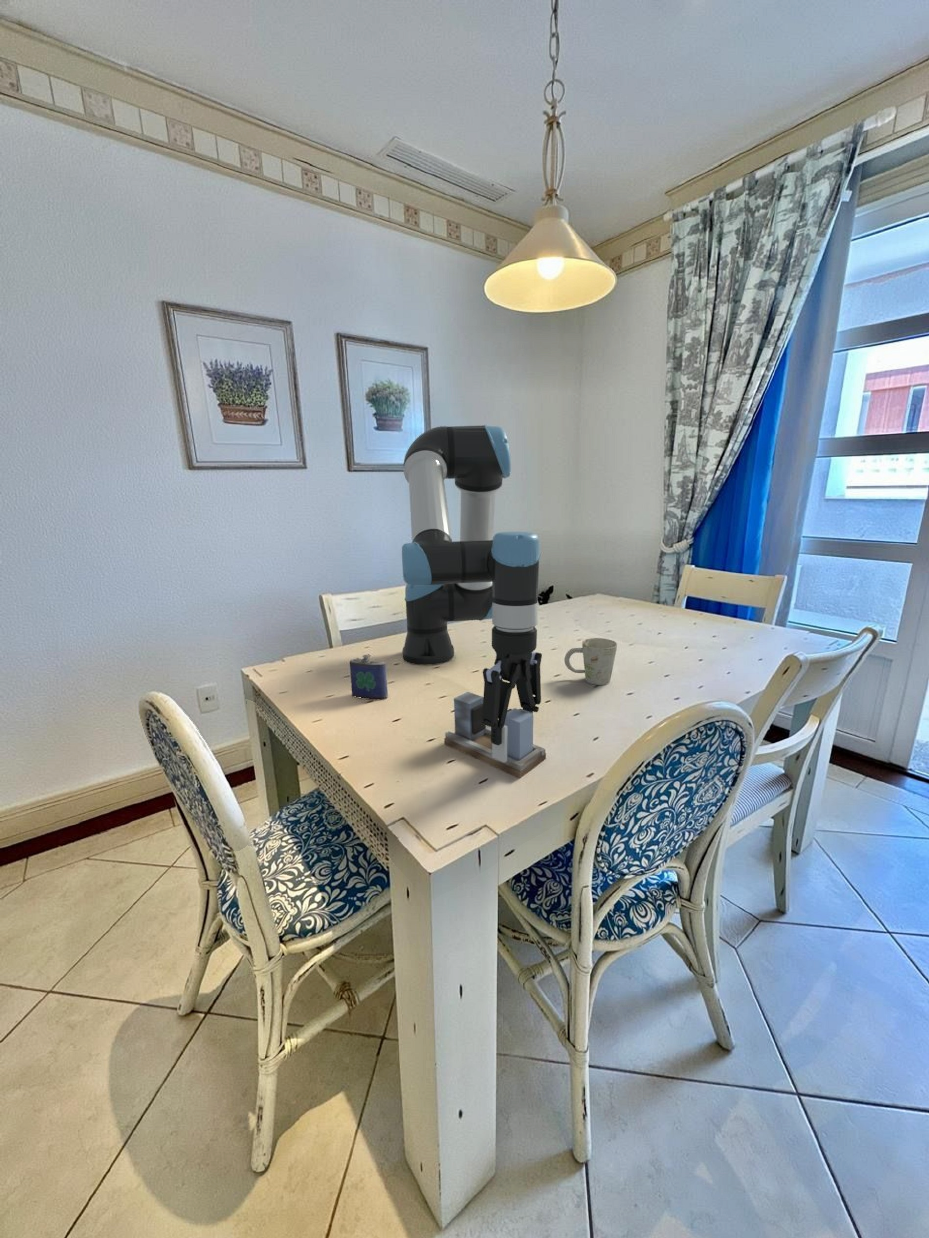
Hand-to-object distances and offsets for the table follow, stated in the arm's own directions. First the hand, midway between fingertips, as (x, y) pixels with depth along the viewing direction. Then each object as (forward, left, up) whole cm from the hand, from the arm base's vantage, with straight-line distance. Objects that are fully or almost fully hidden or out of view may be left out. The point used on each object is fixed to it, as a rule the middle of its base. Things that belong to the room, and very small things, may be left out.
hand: (512, 751), depth 88 cm
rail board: (-5, +1, -3) cm, 6 cm away
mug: (-8, +44, -3) cm, 44 cm away
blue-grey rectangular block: (0, +1, -1) cm, 2 cm away
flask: (-44, +2, -3) cm, 44 cm away
